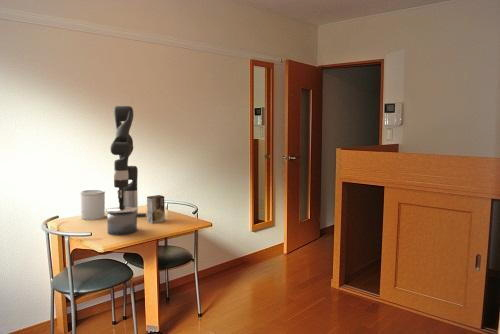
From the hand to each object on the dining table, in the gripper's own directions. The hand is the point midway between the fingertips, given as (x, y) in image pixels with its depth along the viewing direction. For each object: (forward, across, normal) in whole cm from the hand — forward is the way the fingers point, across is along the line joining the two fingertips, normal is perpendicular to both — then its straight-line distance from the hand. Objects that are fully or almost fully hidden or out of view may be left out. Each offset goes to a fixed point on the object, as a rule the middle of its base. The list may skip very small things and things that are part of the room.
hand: (121, 209), depth 217 cm
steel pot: (+14, -4, +3) cm, 14 cm away
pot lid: (+2, -4, 0) cm, 4 cm away
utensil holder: (+13, -42, -20) cm, 48 cm away
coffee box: (+13, -24, +19) cm, 33 cm away
